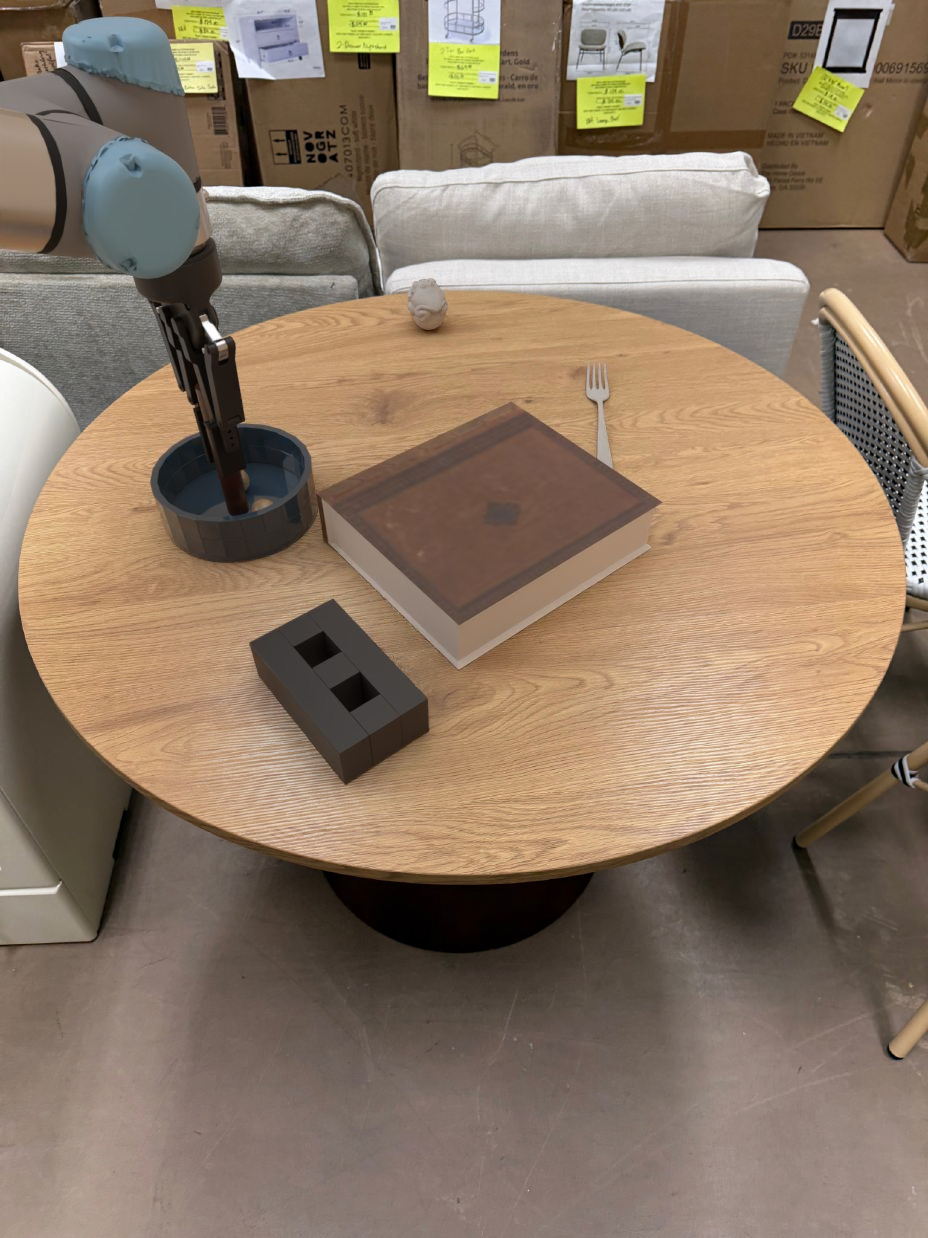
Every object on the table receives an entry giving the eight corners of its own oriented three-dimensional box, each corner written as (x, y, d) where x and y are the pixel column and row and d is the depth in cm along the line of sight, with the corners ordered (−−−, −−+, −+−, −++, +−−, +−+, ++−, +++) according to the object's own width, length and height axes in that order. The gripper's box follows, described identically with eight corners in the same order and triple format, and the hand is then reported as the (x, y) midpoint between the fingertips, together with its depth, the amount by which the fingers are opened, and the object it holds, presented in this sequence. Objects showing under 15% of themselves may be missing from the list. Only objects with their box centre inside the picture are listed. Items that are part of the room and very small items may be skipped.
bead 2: (244, 521, 90) (271, 528, 90) (251, 494, 90) (278, 501, 90) (250, 521, 93) (275, 528, 93) (256, 496, 93) (282, 503, 93)
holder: (345, 785, 71) (339, 754, 67) (258, 675, 79) (248, 642, 75) (429, 730, 75) (428, 698, 71) (338, 631, 83) (333, 597, 79)
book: (323, 538, 92) (315, 492, 87) (508, 445, 104) (511, 401, 99) (458, 669, 79) (458, 625, 75) (651, 547, 91) (663, 502, 87)
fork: (592, 478, 100) (594, 466, 98) (584, 371, 116) (585, 360, 115) (619, 479, 100) (621, 467, 98) (606, 372, 116) (608, 361, 115)
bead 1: (233, 502, 95) (228, 482, 93) (221, 489, 96) (216, 469, 94) (256, 492, 96) (251, 472, 94) (244, 479, 98) (239, 459, 95)
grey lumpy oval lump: (436, 312, 127) (435, 268, 122) (456, 332, 123) (456, 287, 118) (400, 320, 125) (398, 276, 120) (419, 341, 121) (418, 296, 116)
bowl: (208, 585, 87) (195, 544, 82) (139, 502, 96) (124, 460, 92) (346, 518, 94) (341, 477, 90) (271, 447, 103) (262, 406, 99)
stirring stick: (234, 519, 91) (201, 394, 79) (224, 508, 92) (190, 384, 80) (253, 511, 92) (224, 386, 80) (243, 500, 93) (212, 376, 81)
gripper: (252, 261, 67) (294, 485, 85) (170, 202, 75) (224, 418, 93) (168, 287, 64) (229, 515, 82) (91, 223, 72) (162, 443, 90)
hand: (226, 463), depth 87 cm, fingers closed on stirring stick, 2 cm apart
